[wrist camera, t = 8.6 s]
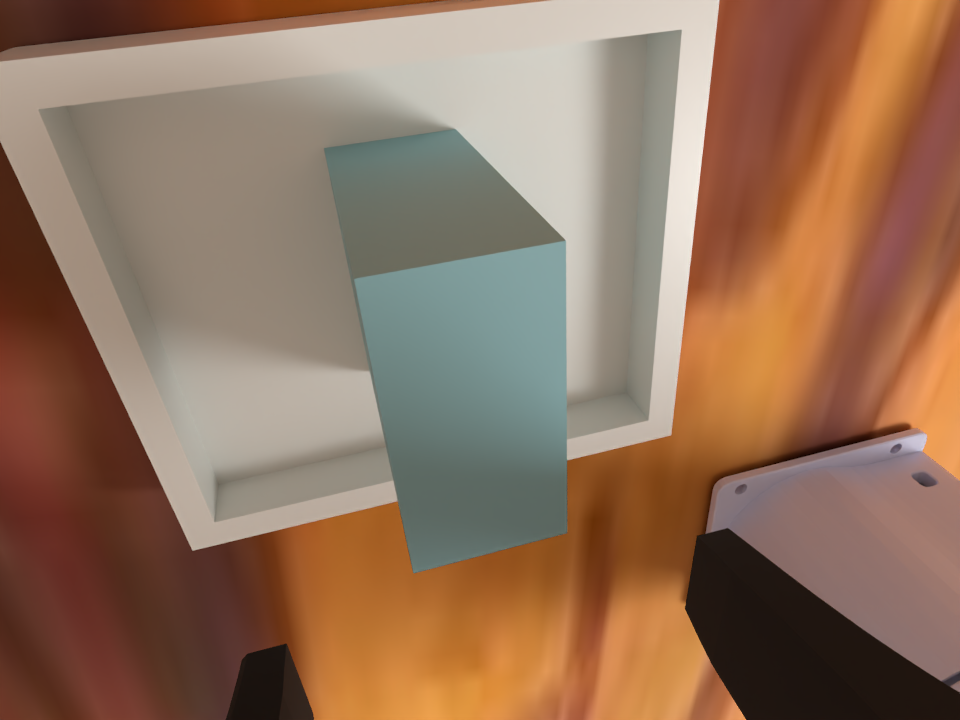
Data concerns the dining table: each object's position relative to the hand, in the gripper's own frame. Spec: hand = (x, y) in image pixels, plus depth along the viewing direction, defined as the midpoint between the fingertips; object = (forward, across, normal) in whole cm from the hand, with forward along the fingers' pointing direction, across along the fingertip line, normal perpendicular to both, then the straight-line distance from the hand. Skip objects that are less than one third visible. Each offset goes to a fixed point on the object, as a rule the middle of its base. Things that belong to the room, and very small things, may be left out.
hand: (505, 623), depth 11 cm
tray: (+9, 0, -3) cm, 10 cm away
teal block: (+8, 0, -3) cm, 9 cm away
